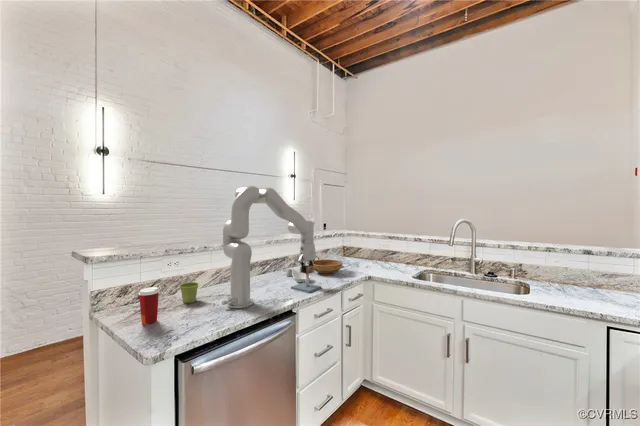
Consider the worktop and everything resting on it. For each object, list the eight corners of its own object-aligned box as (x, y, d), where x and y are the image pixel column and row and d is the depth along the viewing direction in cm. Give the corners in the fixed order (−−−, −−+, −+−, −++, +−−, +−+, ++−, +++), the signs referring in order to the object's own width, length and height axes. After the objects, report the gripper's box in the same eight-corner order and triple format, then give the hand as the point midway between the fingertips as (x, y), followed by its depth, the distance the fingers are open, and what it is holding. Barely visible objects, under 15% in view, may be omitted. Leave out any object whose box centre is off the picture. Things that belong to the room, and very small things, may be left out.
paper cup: (163, 318, 123) (163, 286, 123) (153, 325, 115) (153, 292, 115) (145, 318, 123) (144, 286, 122) (134, 326, 115) (133, 292, 115)
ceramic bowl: (300, 273, 207) (300, 262, 207) (321, 267, 226) (321, 257, 226) (332, 279, 188) (332, 268, 188) (352, 273, 207) (352, 262, 207)
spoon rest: (314, 282, 183) (314, 271, 183) (298, 285, 176) (298, 274, 176) (295, 275, 202) (295, 265, 202) (281, 277, 195) (281, 267, 195)
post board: (309, 293, 159) (309, 277, 159) (290, 288, 168) (290, 273, 167) (321, 288, 169) (321, 273, 169) (303, 284, 177) (303, 269, 177)
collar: (308, 274, 165) (308, 268, 164) (300, 272, 168) (300, 266, 168) (314, 272, 169) (314, 266, 169) (306, 270, 173) (306, 265, 173)
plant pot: (203, 300, 147) (203, 283, 147) (186, 305, 139) (186, 288, 139) (192, 297, 152) (191, 281, 152) (175, 302, 144) (175, 285, 143)
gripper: (302, 243, 159) (302, 274, 160) (320, 240, 173) (320, 269, 173) (293, 242, 164) (293, 273, 164) (311, 239, 177) (311, 267, 178)
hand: (307, 270), depth 169 cm, fingers closed on collar, 6 cm apart
